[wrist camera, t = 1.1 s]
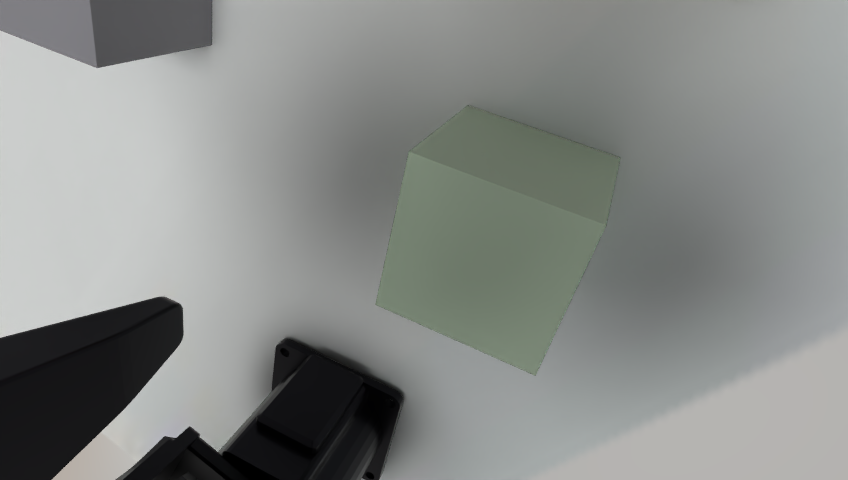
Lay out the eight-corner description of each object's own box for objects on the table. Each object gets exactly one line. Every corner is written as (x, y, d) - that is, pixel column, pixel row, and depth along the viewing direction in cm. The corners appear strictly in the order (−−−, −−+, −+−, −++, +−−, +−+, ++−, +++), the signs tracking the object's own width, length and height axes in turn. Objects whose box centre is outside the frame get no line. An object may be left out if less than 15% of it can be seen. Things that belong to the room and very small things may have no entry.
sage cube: (562, 284, 19) (535, 375, 15) (434, 232, 20) (375, 304, 16) (620, 156, 16) (606, 225, 12) (468, 104, 17) (408, 152, 13)
